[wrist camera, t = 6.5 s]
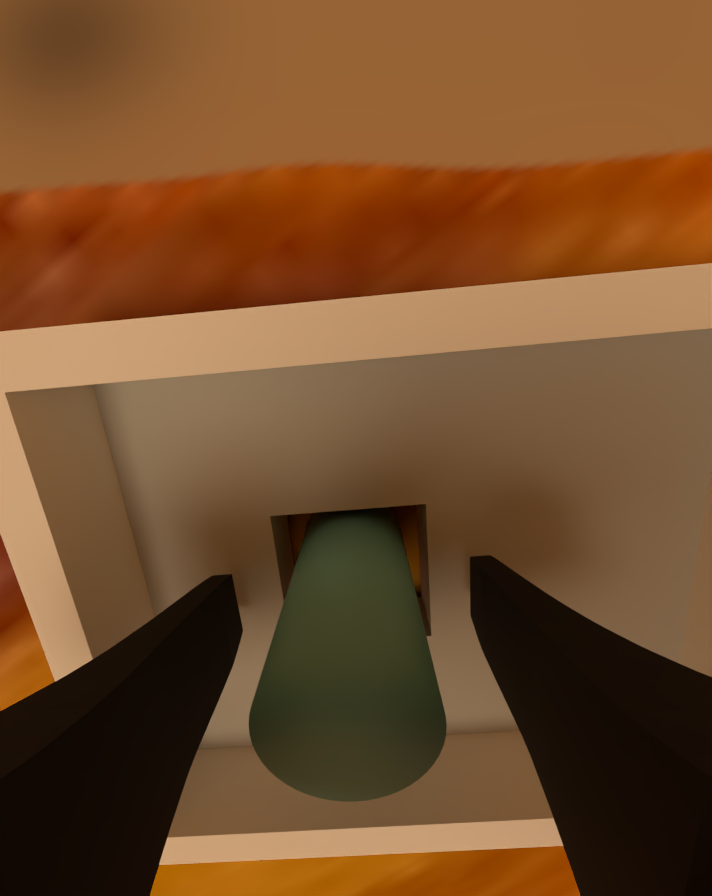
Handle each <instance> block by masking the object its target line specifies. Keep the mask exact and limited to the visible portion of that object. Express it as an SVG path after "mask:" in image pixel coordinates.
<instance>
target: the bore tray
mask: <svg viewBox="0 0 712 896" xmlns="http://www.w3.org/2000/svg"><path fill="white" fill-rule="evenodd" d="M407 505H417V520H418V541H419V561H420V581H421V597H417V600H418V604H419V608H420V612H421V616H422V620H423V624H424V628H425V632H426V637H427V641H428V645H429V649H430V653H431V657H432V661H433V665H434V669H435V674H436V678H437V682H438V686H439V690H440V694H441V698H442V702H443V706H444V711H445V715H446V723H447V730H446V738H445V742H444V746H443V748H442V751H441V753H440V755H439V757H438V758H437V760H436V762H435V763H434V765H433V766H432V767H431V768H430V769H429V770H428V772H427V773H425V774H424V775H423V776H422V777H421V778H420V779H419V780H417V781H416V782H414V783H413V784H412V785H410V786H408V787H406V788H405V789H403V790H401V791H399V792H396V793H394V794H391V795H388V796H385V797H382V798H378V799H373V800H367V801H356V802H342V801H332V800H326V799H321V798H317V797H314V796H310V795H307V794H305V793H302V792H300V791H298V790H296V789H294V788H292V787H290V786H288V785H286V784H285V783H284V782H282V781H281V780H279V779H278V778H277V777H275V776H274V775H273V774H272V773H271V772H270V771H269V770H268V769H267V768H266V767H265V765H264V764H263V763H262V762H261V760H260V759H259V757H258V755H257V754H256V752H255V750H254V747H253V745H252V742H251V738H250V734H249V714H250V709H251V705H252V702H253V699H254V696H255V692H256V689H257V686H258V683H259V680H260V676H261V673H262V670H263V667H264V664H265V660H266V657H267V654H268V651H269V648H270V644H271V641H272V638H273V635H274V632H275V629H276V625H277V622H278V619H279V616H280V613H281V609H282V606H283V603H284V600H285V597H286V593H287V590H288V587H289V584H290V581H291V577H292V574H293V571H294V568H295V565H294V558H293V552H292V545H291V538H290V531H289V524H288V518H287V515H292V514H304V513H317V512H330V511H343V510H356V509H369V508H382V507H394V506H407ZM0 534H1V536H2V539H3V542H4V544H5V547H6V550H7V553H8V555H9V558H10V561H11V563H12V566H13V569H14V571H15V574H16V577H17V580H18V582H19V585H20V588H21V590H22V593H23V596H24V599H25V601H26V604H27V607H28V609H29V612H30V615H31V617H32V620H33V623H34V626H35V628H36V631H37V634H38V636H39V639H40V642H41V644H42V647H43V650H44V653H45V655H46V658H47V661H48V663H49V666H50V669H51V671H52V674H53V677H54V680H55V682H56V681H58V680H59V679H61V678H63V677H64V676H66V675H68V674H69V673H71V672H73V671H74V670H76V669H78V668H79V667H81V666H83V665H84V664H86V663H88V662H89V661H91V660H93V659H94V658H96V657H97V656H99V655H100V654H102V653H104V652H105V651H107V650H108V649H110V648H111V647H113V646H114V645H116V644H117V643H119V642H120V641H121V640H123V639H124V638H126V637H127V636H129V635H130V634H131V633H133V632H134V631H136V630H137V629H139V628H140V627H142V626H143V625H144V624H146V623H147V622H149V621H150V620H151V619H153V618H154V617H156V616H157V615H158V614H160V613H161V612H162V611H164V610H165V609H166V608H168V607H169V606H170V605H172V604H173V603H174V602H176V601H177V600H178V599H180V598H181V597H182V596H184V595H185V594H186V593H188V592H189V591H190V590H192V589H193V588H195V587H196V586H197V585H199V584H200V583H201V582H203V581H204V580H206V579H207V578H209V577H211V576H212V575H225V574H232V577H233V582H234V587H235V592H236V597H237V602H238V607H239V612H240V617H241V623H242V628H243V633H242V637H241V640H240V644H239V648H238V651H237V655H236V658H235V661H234V664H233V667H232V670H231V672H230V675H229V677H228V679H227V682H226V684H225V687H224V689H223V691H222V694H221V696H220V699H219V701H218V703H217V706H216V708H215V710H214V713H213V715H212V717H211V720H210V722H209V724H208V727H207V729H206V731H205V734H204V736H203V738H202V741H201V743H200V745H199V748H198V750H197V753H196V755H195V758H194V760H193V763H192V766H191V768H190V771H189V773H188V776H187V779H186V782H185V785H184V788H183V791H182V794H181V797H180V800H179V803H178V806H177V809H176V812H175V815H174V818H173V821H172V824H171V827H170V831H169V834H168V837H167V840H166V844H165V847H164V850H163V853H162V856H161V860H160V863H159V865H168V864H189V863H210V862H231V861H252V860H273V859H294V858H315V857H337V856H358V855H379V854H400V853H421V852H442V851H463V850H484V849H506V848H527V847H548V846H563V843H562V840H561V838H560V835H559V832H558V829H557V826H556V824H555V821H554V818H553V815H552V813H551V810H550V807H549V804H548V802H547V799H546V796H545V793H544V791H543V788H542V785H541V783H540V780H539V777H538V775H537V772H536V769H535V767H534V764H533V761H532V759H531V756H530V754H529V751H528V749H527V747H526V744H525V742H524V740H523V737H522V735H521V733H520V731H519V728H518V726H517V724H516V722H515V720H514V718H513V716H512V713H511V711H510V709H509V707H508V705H507V703H506V701H505V699H504V696H503V694H502V692H501V690H500V688H499V686H498V684H497V682H496V679H495V677H494V675H493V673H492V671H491V669H490V666H489V664H488V662H487V660H486V658H485V656H484V653H483V651H482V649H481V646H480V643H479V640H478V637H477V634H476V631H475V628H474V625H473V622H472V619H471V616H470V557H472V556H486V555H491V556H493V557H494V558H496V559H497V560H499V561H500V562H502V563H503V564H505V565H506V566H508V567H509V568H510V569H512V570H513V571H515V572H516V573H518V574H519V575H520V576H522V577H523V578H525V579H526V580H528V581H529V582H531V583H532V584H534V585H535V586H537V587H538V588H540V589H541V590H543V591H544V592H546V593H547V594H549V595H550V596H552V597H553V598H555V599H557V600H558V601H560V602H561V603H563V604H564V605H566V606H568V607H570V608H571V609H573V610H575V611H576V612H578V613H580V614H581V615H583V616H585V617H586V618H588V619H590V620H592V621H593V622H595V623H597V624H599V625H601V626H602V627H604V628H606V629H608V630H610V631H612V632H614V633H616V634H618V635H620V636H622V637H624V638H626V639H628V640H630V641H632V642H633V643H636V644H638V645H640V646H642V647H644V648H646V649H648V650H650V651H652V652H654V653H657V654H659V655H661V656H663V657H666V658H668V659H670V660H673V661H675V662H677V663H679V664H682V665H684V666H686V667H688V668H691V669H693V670H695V671H698V672H700V673H703V674H705V675H708V676H710V677H712V263H708V264H697V265H687V266H677V267H666V268H656V269H645V270H635V271H625V272H614V273H604V274H594V275H583V276H573V277H562V278H552V279H542V280H531V281H521V282H511V283H500V284H490V285H480V286H469V287H459V288H448V289H438V290H428V291H417V292H407V293H397V294H386V295H376V296H365V297H355V298H345V299H334V300H324V301H314V302H303V303H293V304H283V305H272V306H262V307H251V308H241V309H231V310H220V311H210V312H200V313H189V314H179V315H168V316H158V317H148V318H137V319H127V320H117V321H106V322H96V323H86V324H75V325H65V326H54V327H44V328H34V329H23V330H13V331H3V332H0Z"/></svg>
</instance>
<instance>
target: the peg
mask: <svg viewBox="0 0 712 896" xmlns="http://www.w3.org/2000/svg"><path fill="white" fill-rule="evenodd" d="M446 730H447V723H446V715H445V711H444V706H443V702H442V698H441V694H440V690H439V686H438V682H437V678H436V674H435V669H434V665H433V661H432V657H431V653H430V649H429V645H428V641H427V637H426V632H425V628H424V624H423V620H422V616H421V612H420V608H419V604H418V600H417V596H416V591H415V587H414V583H413V579H412V575H411V571H410V567H409V563H408V559H407V554H406V550H405V546H404V542H403V538H402V534H401V530H400V526H399V523H398V521H397V519H396V517H395V516H394V514H393V513H392V512H391V510H390V509H389V508H388V507H382V508H369V509H356V510H343V511H330V512H317V513H314V514H313V516H312V517H311V519H310V521H309V524H308V526H307V530H306V533H305V536H304V539H303V542H302V546H301V549H300V552H299V555H298V558H297V561H296V565H295V568H294V571H293V574H292V577H291V581H290V584H289V587H288V590H287V593H286V597H285V600H284V603H283V606H282V609H281V613H280V616H279V619H278V622H277V625H276V629H275V632H274V635H273V638H272V641H271V644H270V648H269V651H268V654H267V657H266V660H265V664H264V667H263V670H262V673H261V676H260V680H259V683H258V686H257V689H256V692H255V696H254V699H253V702H252V705H251V709H250V714H249V734H250V738H251V742H252V745H253V747H254V750H255V752H256V754H257V755H258V757H259V759H260V760H261V762H262V763H263V764H264V765H265V767H266V768H267V769H268V770H269V771H270V772H271V773H272V774H273V775H274V776H275V777H277V778H278V779H279V780H281V781H282V782H284V783H285V784H286V785H288V786H290V787H292V788H294V789H296V790H298V791H300V792H302V793H305V794H307V795H310V796H314V797H317V798H321V799H326V800H332V801H342V802H356V801H367V800H373V799H378V798H382V797H385V796H388V795H391V794H394V793H396V792H399V791H401V790H403V789H405V788H406V787H408V786H410V785H412V784H413V783H414V782H416V781H417V780H419V779H420V778H421V777H422V776H423V775H424V774H425V773H427V772H428V770H429V769H430V768H431V767H432V766H433V765H434V763H435V762H436V760H437V758H438V757H439V755H440V753H441V751H442V748H443V746H444V742H445V738H446Z"/></svg>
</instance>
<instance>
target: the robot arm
mask: <svg viewBox="0 0 712 896" xmlns="http://www.w3.org/2000/svg"><path fill="white" fill-rule="evenodd" d="M470 616H471V619H472V622H473V625H474V628H475V631H476V634H477V637H478V640H479V643H480V646H481V649H482V651H483V653H484V656H485V658H486V660H487V662H488V664H489V666H490V669H491V671H492V673H493V675H494V677H495V679H496V682H497V684H498V686H499V688H500V690H501V692H502V694H503V696H504V699H505V701H506V703H507V705H508V707H509V709H510V711H511V713H512V716H513V718H514V720H515V722H516V724H517V726H518V728H519V731H520V733H521V735H522V737H523V740H524V742H525V744H526V747H527V749H528V751H529V754H530V756H531V759H532V761H533V764H534V767H535V769H536V772H537V775H538V777H539V780H540V783H541V785H542V788H543V791H544V793H545V796H546V799H547V802H548V804H549V807H550V810H551V813H552V815H553V818H554V821H555V824H556V826H557V829H558V832H559V835H560V838H561V840H562V843H563V846H564V849H565V852H566V854H567V857H568V860H569V863H570V866H571V869H572V871H573V874H574V877H575V880H576V883H577V886H578V889H579V892H580V895H581V896H712V677H710V676H708V675H705V674H703V673H700V672H698V671H695V670H693V669H691V668H688V667H686V666H684V665H682V664H679V663H677V662H675V661H673V660H670V659H668V658H666V657H663V656H661V655H659V654H657V653H654V652H652V651H650V650H648V649H646V648H644V647H642V646H640V645H638V644H636V643H633V642H632V641H630V640H628V639H626V638H624V637H622V636H620V635H618V634H616V633H614V632H612V631H610V630H608V629H606V628H604V627H602V626H601V625H599V624H597V623H595V622H593V621H592V620H590V619H588V618H586V617H585V616H583V615H581V614H580V613H578V612H576V611H575V610H573V609H571V608H570V607H568V606H566V605H564V604H563V603H561V602H560V601H558V600H557V599H555V598H553V597H552V596H550V595H549V594H547V593H546V592H544V591H543V590H541V589H540V588H538V587H537V586H535V585H534V584H532V583H531V582H529V581H528V580H526V579H525V578H523V577H522V576H520V575H519V574H518V573H516V572H515V571H513V570H512V569H510V568H509V567H508V566H506V565H505V564H503V563H502V562H500V561H499V560H497V559H496V558H494V557H493V556H491V555H486V556H472V557H470ZM242 633H243V628H242V623H241V617H240V612H239V607H238V602H237V597H236V592H235V587H234V582H233V577H232V574H225V575H212V576H211V577H209V578H207V579H206V580H204V581H203V582H201V583H200V584H199V585H197V586H196V587H195V588H193V589H192V590H190V591H189V592H188V593H186V594H185V595H184V596H182V597H181V598H180V599H178V600H177V601H176V602H174V603H173V604H172V605H170V606H169V607H168V608H166V609H165V610H164V611H162V612H161V613H160V614H158V615H157V616H156V617H154V618H153V619H151V620H150V621H149V622H147V623H146V624H144V625H143V626H142V627H140V628H139V629H137V630H136V631H134V632H133V633H131V634H130V635H129V636H127V637H126V638H124V639H123V640H121V641H120V642H119V643H117V644H116V645H114V646H113V647H111V648H110V649H108V650H107V651H105V652H104V653H102V654H100V655H99V656H97V657H96V658H94V659H93V660H91V661H89V662H88V663H86V664H84V665H83V666H81V667H79V668H78V669H76V670H74V671H73V672H71V673H69V674H68V675H66V676H64V677H63V678H61V679H59V680H58V681H56V682H54V683H52V684H50V685H48V686H47V687H45V688H43V689H41V690H39V691H37V692H35V693H34V694H32V695H30V696H28V697H26V698H24V699H23V700H21V701H19V702H17V703H15V704H13V705H11V706H10V707H8V708H6V709H4V710H2V711H0V896H150V892H151V889H152V885H153V882H154V879H155V876H156V872H157V869H158V866H159V863H160V860H161V856H162V853H163V850H164V847H165V844H166V840H167V837H168V834H169V831H170V827H171V824H172V821H173V818H174V815H175V812H176V809H177V806H178V803H179V800H180V797H181V794H182V791H183V788H184V785H185V782H186V779H187V776H188V773H189V771H190V768H191V766H192V763H193V760H194V758H195V755H196V753H197V750H198V748H199V745H200V743H201V741H202V738H203V736H204V734H205V731H206V729H207V727H208V724H209V722H210V720H211V717H212V715H213V713H214V710H215V708H216V706H217V703H218V701H219V699H220V696H221V694H222V691H223V689H224V687H225V684H226V682H227V679H228V677H229V675H230V672H231V670H232V667H233V664H234V661H235V658H236V655H237V651H238V648H239V644H240V640H241V637H242Z"/></svg>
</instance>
